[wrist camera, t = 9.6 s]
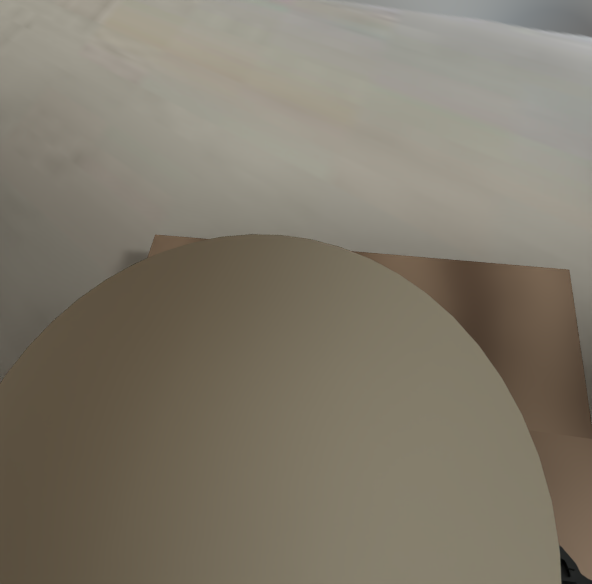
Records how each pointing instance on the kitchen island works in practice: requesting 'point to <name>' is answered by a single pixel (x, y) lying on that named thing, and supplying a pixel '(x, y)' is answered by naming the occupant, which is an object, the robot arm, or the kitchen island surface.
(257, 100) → the kitchen island surface
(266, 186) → the kitchen island surface
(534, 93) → the kitchen island surface
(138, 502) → the beech peg
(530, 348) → the walnut board
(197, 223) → the kitchen island surface
